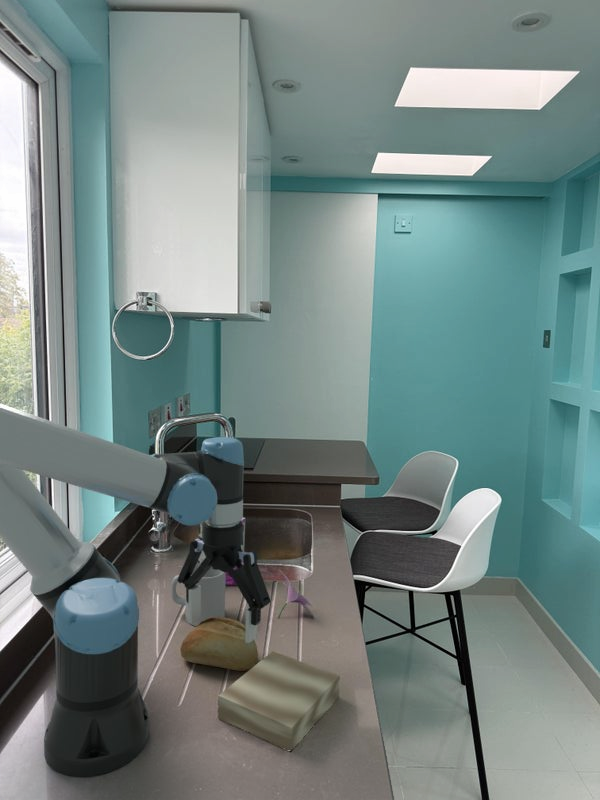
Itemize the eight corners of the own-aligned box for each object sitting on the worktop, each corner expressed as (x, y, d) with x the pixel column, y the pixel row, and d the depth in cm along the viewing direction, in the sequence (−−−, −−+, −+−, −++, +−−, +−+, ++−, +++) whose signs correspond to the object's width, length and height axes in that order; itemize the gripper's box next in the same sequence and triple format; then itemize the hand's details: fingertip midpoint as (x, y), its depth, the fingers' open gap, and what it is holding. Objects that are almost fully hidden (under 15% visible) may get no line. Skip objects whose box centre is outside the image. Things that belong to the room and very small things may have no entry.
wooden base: (290, 752, 87) (291, 727, 87) (217, 718, 94) (218, 695, 94) (338, 697, 101) (339, 675, 101) (272, 671, 108) (272, 651, 108)
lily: (310, 637, 123) (328, 594, 125) (260, 613, 123) (279, 570, 125) (304, 626, 135) (321, 587, 137) (259, 604, 135) (276, 565, 137)
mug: (228, 610, 131) (229, 563, 130) (219, 629, 123) (220, 579, 122) (177, 605, 132) (177, 559, 131) (164, 624, 124) (165, 575, 123)
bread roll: (189, 645, 116) (190, 607, 115) (262, 652, 114) (264, 614, 114) (173, 672, 107) (173, 631, 106) (252, 681, 105) (253, 639, 104)
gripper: (290, 528, 104) (288, 639, 107) (185, 504, 117) (185, 604, 120) (267, 540, 98) (265, 658, 100) (158, 514, 111) (159, 619, 113)
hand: (222, 629), depth 110 cm, fingers open, 13 cm apart
